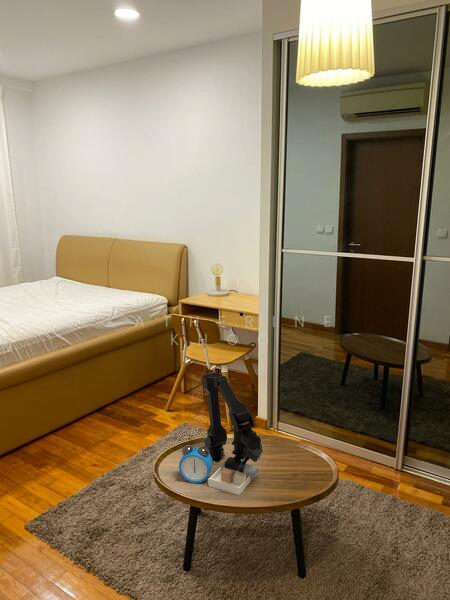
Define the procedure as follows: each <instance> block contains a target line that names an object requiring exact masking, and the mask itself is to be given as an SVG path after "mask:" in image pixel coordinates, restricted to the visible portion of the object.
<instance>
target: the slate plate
mask: <svg viewBox="0 0 450 600" xmlns="http://www.w3.org/2000/svg"><path fill="white" fill-rule="evenodd" d="M220 467H221V471H222V470H223V469H227V470H230V471H233V476H234V474H235V473H236V471H235V470H231V469H228V468H225V467H224V464H223V465H222V466H220ZM238 472H239V471H238ZM243 473H245V474H246V478H247V477H248V476H250V483H251V482H252V481H253V479H254V478H255V477H256V476H257V475H258V473H259V466H255V465H252V464H249V463H246V465H245V469H244V472H243Z"/></svg>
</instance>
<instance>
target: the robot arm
mask: <svg viewBox="0 0 450 600" xmlns="http://www.w3.org/2000/svg"><path fill="white" fill-rule="evenodd" d="M200 382H201V385H202V388H203V390H204V391H205V392H206V394H207V405H208V406H207V407H208V414H209V426H208V429H207V433H206V435H207V437H206V438H204V440H203V443H204V446H205V447H207V448H208V449H209V454H210V456H211V457H212V461H213V462H215V463H219V462H220V461H221V460H222V459H223V458H224V457H225V456H226V454H225V449H224V446H225V445H226V444H227V440H228V435H227V429H226V428H224V426H223V425H222V419H221V418H222V417H221V406H220V396H219V393H220V395H221V398H223V401H224V402H225V404H226V405H227V408H228V410H229V411H228V416H229V419H230V422H231V423H230V425H231V426H232V428H233V440H232V441H231V445H232V446H233V450H232V451H231V453H232V455H234V456H228V458H227V459H226V460H225V461H224V462H223V463H224V464H223V465H224V467H225V468H228V469H231V470H235V471H239V472H242V473H243V472H244V469H245V465H246V464H247V462H248V461H249V460H251V461H252V462H255V463H257V462H258V460H259V459H260V457H261V455H262V454H263V451H264V449H263V445H262V444H261V443H262V440H261V437H260V436H259V435H257V432H256V431H254V430H252V429H253V428H255V427H256V426H255V420H254V418H253V416H252V413H251V411H250V410H249V408H248V407H247V406H246V405H245V404H244V403H242V402H240V400H239V398H238V397H237V396H236V394H235V392H234V390H233V388H232V387H231V385H230V383H229V382H228V378H227V376H226V375H224V374H223V373H219V372H218V371H214V372H213V371H212V372H209V373H204V374H203V375H202V376H201V378H200Z"/></svg>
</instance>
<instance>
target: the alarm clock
mask: <svg viewBox="0 0 450 600" xmlns="http://www.w3.org/2000/svg"><path fill="white" fill-rule="evenodd" d="M181 453H182V456H181V458H180V461H179V463H178V470H179V473H180V475H181V476H182V478H184V479H185V480H186V483H187V482H190V483H193V484H194V483H195V484H199V483H202V484H204V481H206V480H208V478H209V476H210V474H211V471H212V469H213V465H214V464H213V463H214V461H212V457H211V456H210V454H209V449H208V448H207V447H206V446H205V445H200V446H194V447H193V445H192V444H191V445H190V444H186V445H184V446H183V447H182V448H181Z"/></svg>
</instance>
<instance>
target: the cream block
mask: <svg viewBox="0 0 450 600" xmlns="http://www.w3.org/2000/svg"><path fill="white" fill-rule="evenodd" d="M245 479H246V474H245V473H242V472H238V471H236V473H235V474H234V482H235V484H238V485H241V484H242V483H243V482H244V480H245Z"/></svg>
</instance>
